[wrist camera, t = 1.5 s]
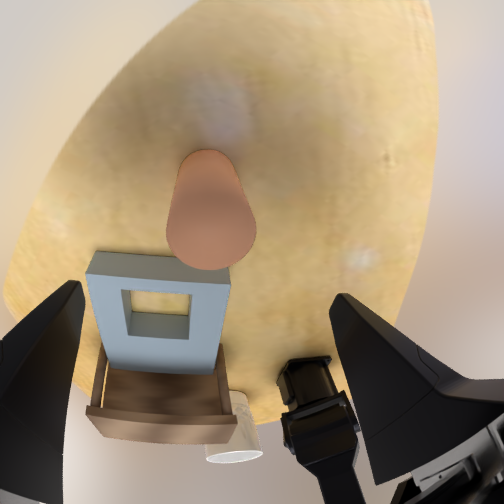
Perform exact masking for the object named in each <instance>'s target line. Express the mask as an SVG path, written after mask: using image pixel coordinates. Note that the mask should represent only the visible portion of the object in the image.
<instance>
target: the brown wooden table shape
mask: <svg viewBox="0 0 504 504" xmlns="http://www.w3.org/2000/svg"><path fill="white" fill-rule="evenodd" d="M107 359H108V358H107V355H106V352H105V349H104V345H103V342H102V343H101V348H100V352H99V357H98V362H97V367H96V373H95V378H94V384H93V391H92V397H91V405H90V406H88V405H87V407H86V416H87V417H88V418H89V420H90V421H91V422H92V423H93V425H94V426H95V427H96V428H97V429H98V431H99V432H100V433H101V434H102V435H103V436H104V437H108V438H114V439H121V440H129V441H138V442H149V443H162V444H228V442H229V440H230V438H231V436H232V435H233V433H234V431H235V429H236V427H237V425H238V421H237V416H236V415H233V412H232V406H231V400H230V394H229V387H228V380H227V374H226V367H225V360H224V353H223V345H222V344H220V343H219V346H218V351H217V356H216V362H215V363H216V369H214V372H213V375H198V374H170V373H155V372H142V371H132V370H122V369H114V368H111V366H110V363H109V365H108V371H107V378H106V384H105V392H104V400H103V408H100V407H101V398H102V391H103V383H104V377H105V370H106V364H107Z"/></svg>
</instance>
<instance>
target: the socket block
mask: <svg viewBox="0 0 504 504" xmlns="http://www.w3.org/2000/svg"><path fill="white" fill-rule="evenodd" d="M85 275H86V280H87V285H88V289H89V294H90V298H91V302H92V306H93V310H94V314H95V318H96V322H97V325H98V329H99V332H100V336H101V339H102V342H103V345H104V349H105V352H106V355H107V358H108V361H109V363H110V366H111V368H114V369H122V370H132V371H142V372H155V373H170V374H198V375H213V372H214V367H215V362H216V356H217V351H218V346H219V341H220V336H221V331H222V326H223V321H224V316H225V312H226V307H227V302H228V297H229V292H230V287H231V282H230V276H229V270H228V267H226V268H222V269H217V270H202V269H197V268H194V267H191V266H189V265H187V264H185V263H183V262H182V261H181V260H179V259H178V258H176V257H163V256H150V255H137V254H125V253H112V252H100V251H96V252H95V254H94V256H93V258H92V260H91V262H90V264H89V267H88V269H87V271H86V273H85ZM130 290H136V291H148V292H161V293H175V294H190V301H189V314H188V316H183V315H167V314H153V313H141V312H132V306H131V298H130Z"/></svg>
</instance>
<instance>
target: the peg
mask: <svg viewBox="0 0 504 504" xmlns="http://www.w3.org/2000/svg"><path fill="white" fill-rule="evenodd" d="M166 237H167V242H168V245H169V247H170V249H171V250H172V252H173V253H174V255H175V256H176V257H177V258H178V259H179V260H181V261H182V262H183V263H185V264H187V265H189V266H191V267H194V268H197V269H202V270H217V269H222V268H226V267H228V266H231V265H233V264H235V263H236V262H238V261H239V260H241V259H242V258H243V257H244V256H245V255H246V254H247V253H248V252H249V250H250V249H251V247H252V245H253V243H254V240H255V237H256V222H255V218H254V216H253V213H252V211H251V208H250V206H249V203H248V201H247V198H246V196H245V194H244V191H243V189H242V186H241V184H240V181H239V179H238V176H237V174H236V172H235V169H234V167H233V165H232V163H231V161H230V160H229V158H228V157H227V156H225V155H224V154H223V153H221V152H219V151H216V150H211V149H203V150H199V151H196V152H194V153H192V154H190V155H189V156H188V157H187V158H186V159H185V160H184V161H183V162H182V164H181V166H180V169H179V172H178V176H177V180H176V185H175V189H174V193H173V198H172V202H171V207H170V212H169V216H168V221H167V227H166Z"/></svg>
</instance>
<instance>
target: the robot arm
mask: <svg viewBox="0 0 504 504" xmlns="http://www.w3.org/2000/svg"><path fill="white" fill-rule="evenodd" d="M84 310H85V297H84V293H83V289H82V285H81V282H80V281H77V280H68V281H67V282H66V283H64V284H63V285H62V286H61V287H59V288H58V289H57V290H56V291H55V292H53V293H52V294H51V295H50V296H49V297H47V298H46V299H45V300H44V301H43V302H42V303H40V304H39V305H38V306H37V307H36V308H35V309H34V310H32V311H31V312H30V313H29V314H28V315H27V316H26V317H25V318H23V319H22V320H21V321H20V322H19V323H18V324H17V325H16V326H15V327H14V328H13V329H12V330H11V331H9V332H8V333H7V334H6V335H5V336H4V337H3V338H2V340H0V504H39V502H42V503H46V504H63V478H62V477H63V476H62V475H63V455H62V454H63V446H64V432H65V424H66V415H67V408H68V401H69V394H70V388H71V382H72V377H73V372H74V367H75V362H76V358H77V353H78V349H79V343H80V336H81V329H82V323H83V316H84ZM329 317H330V321H331V325H332V330H333V334H334V339H335V344H336V348H337V351H338V354H339V358H340V361H341V364H342V367H343V370H344V373H345V376H346V380H347V383H348V386H349V389H350V393H351V396H352V399H353V403H354V406H355V409H356V413H357V416H358V420H359V423H360V427H361V430H360V427H359V424H358V421H357V418H356V416H355V414H354V411H353V409H352V407H351V404H350V402H349V400H348V398H347V395H346V393H345V391H344V390H343V391H340V393H338V391H337V388H336V386H335V383H334V381H333V378H332V376H331V373H330V371H329V369H328V364H329V363H330V362H331V360H332V359H331V357H330V356H327V357H318V358H308V359H296V360H290V361H288V363H287V365H286V367H285V368H284V370H283V372H282V374H281V375H280V377H279V379H278V381H277V383H276V384H277V386H279V389H280V393H281V396H282V400H283V404H284V405H288V409H289V412H287V413H286V412H285V413H282V418H280V419H281V422H282V427H283V438H284V439H283V440H284V446H285V447H287V448H288V449H289V450H290V452H291V453H292V454H293V455H296V459H297V461H298V462H299V463H300V464H301V465H302V466H303V467H305V468H306V469H307V470H308V471H309V472H311V473H312V474H313V475H315V476H316V477H317V479H318V482H319V485H320V489H321V492H322V496H323V499H324V502H325V504H366V502H365V499H364V496H363V493H362V490H361V487H360V484H359V481H358V479H357V476H356V473H355V470H354V467H355V463H356V459H357V456H358V452H359V442H358V438H357V435H356V433H357V432H359V431H362V434H363V438H364V441H365V446H366V450H367V453H368V457H369V461H370V465H371V469H372V473H373V478H374V482H375V484H376V485H379V484H382V483H385V482H387V481H390V480H392V479H395V478H397V477H399V476H402V475H404V474H406V473H408V472H411V474H412V476H411V477H410V478H408V479H406V480H404V481H403V482H401V483H399V484H398V486H397V489H396V491H395V494H394V496H393V498H392V501H391V503H390V504H504V379H487V380H485V379H484V380H474V379H469V378H465V377H463V376H462V375H460V374H459V373H457V372H455V371H454V370H453V369H451V368H450V367H448V366H447V365H445V364H443V363H442V362H440V361H439V360H437V359H436V358H435V357H433V356H432V355H430V354H429V353H428V352H426V351H425V350H424V349H422V348H421V347H420V346H418V345H416V343H414V342H413V341H412V340H410V339H409V338H408V337H406V336H405V335H404V334H402V333H401V332H400V331H398V330H397V329H396V328H394V327H393V326H392V325H390V324H389V323H388V322H386V321H385V320H384V319H382V318H381V317H380V316H378V315H377V314H376V313H374V312H373V311H372V310H370V309H369V308H368V307H366V306H365V305H363V304H362V303H361V302H359V301H358V300H357V299H355V298H354V297H352V296H351V295H350V294H348V293H339V294H337V295H336V297H335V299H334V301H333V303H332V305H331V307H330V310H329ZM344 405H345V406H344Z"/></svg>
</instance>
